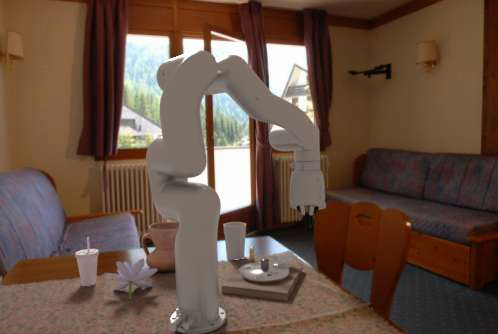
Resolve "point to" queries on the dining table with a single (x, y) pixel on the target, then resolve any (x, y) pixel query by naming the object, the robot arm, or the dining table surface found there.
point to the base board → (263, 285)
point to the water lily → (132, 275)
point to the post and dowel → (263, 261)
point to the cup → (235, 239)
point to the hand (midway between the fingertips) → (308, 227)
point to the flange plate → (268, 270)
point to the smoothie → (87, 265)
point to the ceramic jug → (161, 246)
